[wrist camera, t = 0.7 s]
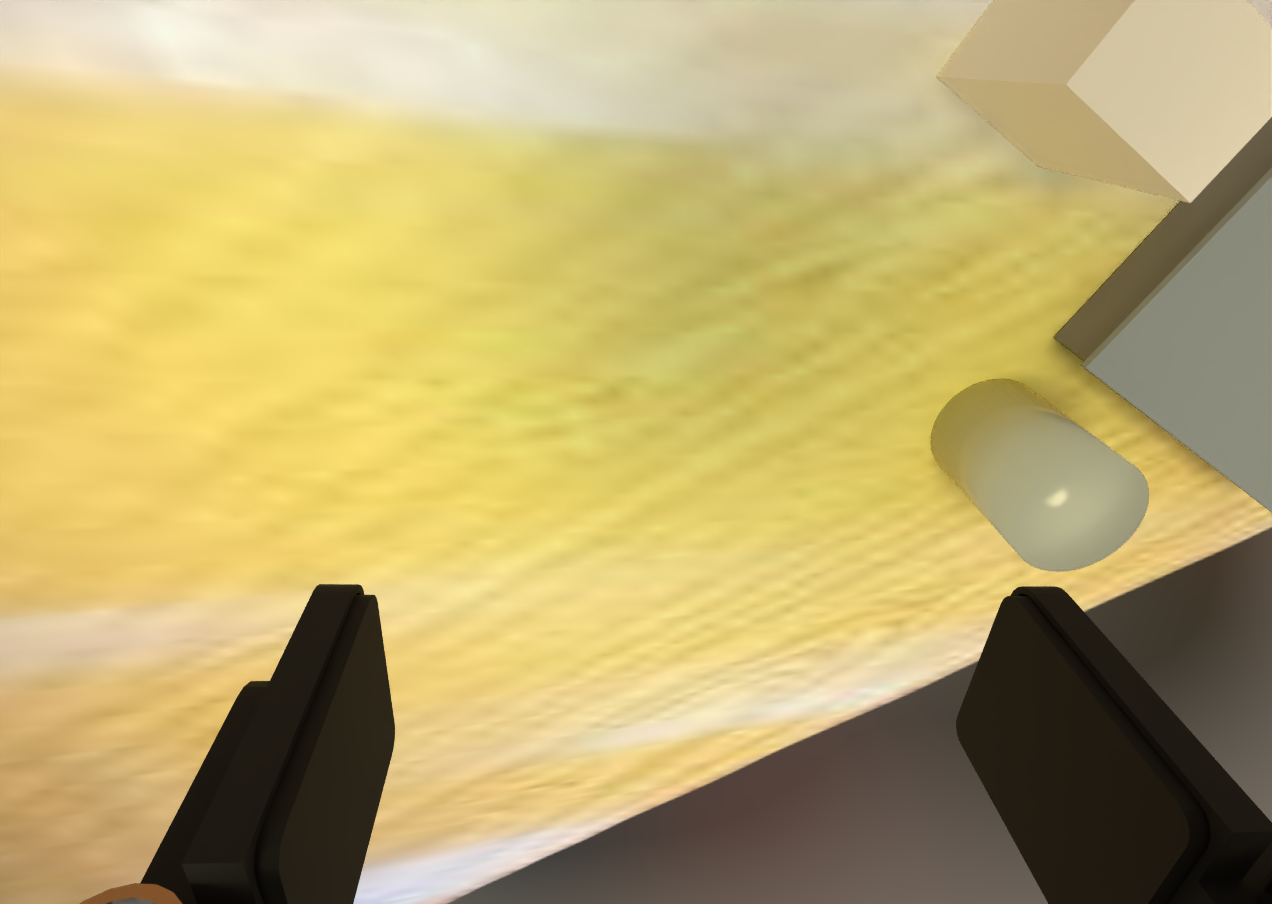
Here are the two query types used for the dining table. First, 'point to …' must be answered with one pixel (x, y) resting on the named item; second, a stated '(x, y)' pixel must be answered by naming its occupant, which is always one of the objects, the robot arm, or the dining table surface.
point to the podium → (1197, 323)
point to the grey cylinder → (1038, 475)
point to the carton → (1121, 86)
